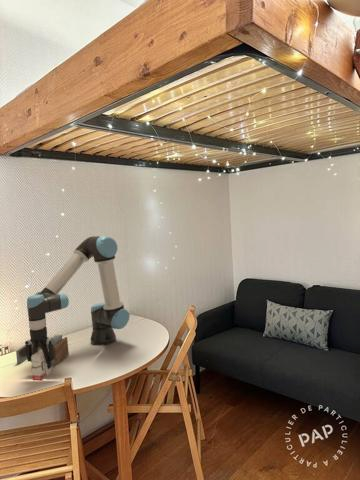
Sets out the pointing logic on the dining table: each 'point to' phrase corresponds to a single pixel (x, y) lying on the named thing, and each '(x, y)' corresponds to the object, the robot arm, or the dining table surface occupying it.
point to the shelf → (59, 350)
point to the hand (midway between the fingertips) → (42, 374)
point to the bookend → (21, 354)
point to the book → (56, 340)
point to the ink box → (38, 365)
